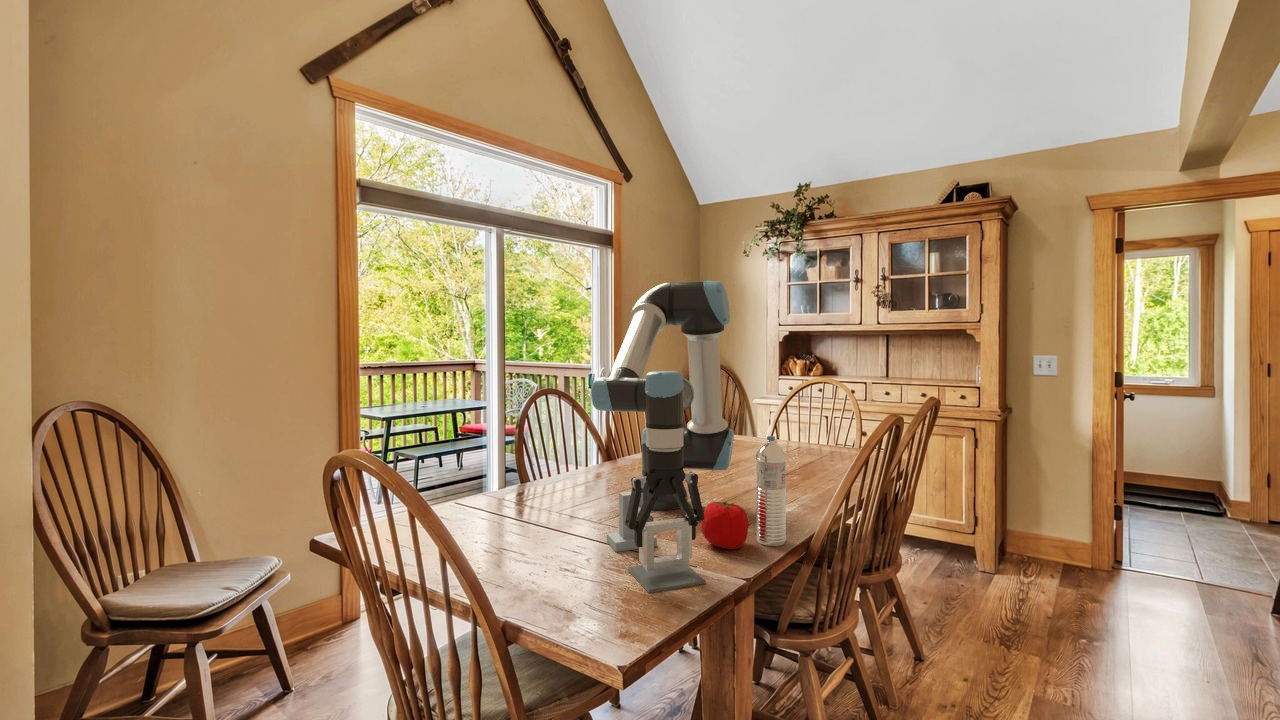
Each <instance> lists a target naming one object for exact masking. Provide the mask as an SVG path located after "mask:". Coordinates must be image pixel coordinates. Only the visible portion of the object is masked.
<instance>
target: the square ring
mask: <svg viewBox="0 0 1280 720" xmlns="http://www.w3.org/2000/svg"><path fill="white" fill-rule="evenodd" d="M644 530H645V531H647V564H646V565H643V564H642V565H643V568H644V569H645V570H646V571H654V570H661V569H667V568H674V567H680V566H687V565H688V566H690V565H689V561H690V560H689V559H690V558H689V550H688V521H687V520H686V518H685V517H680V518H679V517H678V518H670V519H662V520H654V521H653V522H646V524H645V527H644ZM671 531H676V554H673V555H667V556H659V557H658V556H657V557H655V546H654V536H655V533H656V534H658V533H665V532H671Z"/></svg>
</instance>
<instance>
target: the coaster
mask: <svg viewBox="0 0 1280 720" xmlns="http://www.w3.org/2000/svg"><path fill="white" fill-rule="evenodd" d="M627 570H628V572H629V573H630V575H632V576H633V578H635V580H637V582H638V583H639V584H640V585H641V587H643V588H644V589H645V590H646V592H647V593H648V594H649V593H650V594H651V593H656V592H663V591H669V590H675V589H679V588H688V587H693V586H699V584H700V585H704V584H707V581H706V579H705V578H703V577H702V576H701V575H700V574H699V573H698V572H696V571H695V570H694V569H693V568H691V566H690V565H687V566H680V567H674V568H667V569H661V570H654V571H646V570H645V569H644V568H643V564H641V565H636V566H628V567H627Z"/></svg>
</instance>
